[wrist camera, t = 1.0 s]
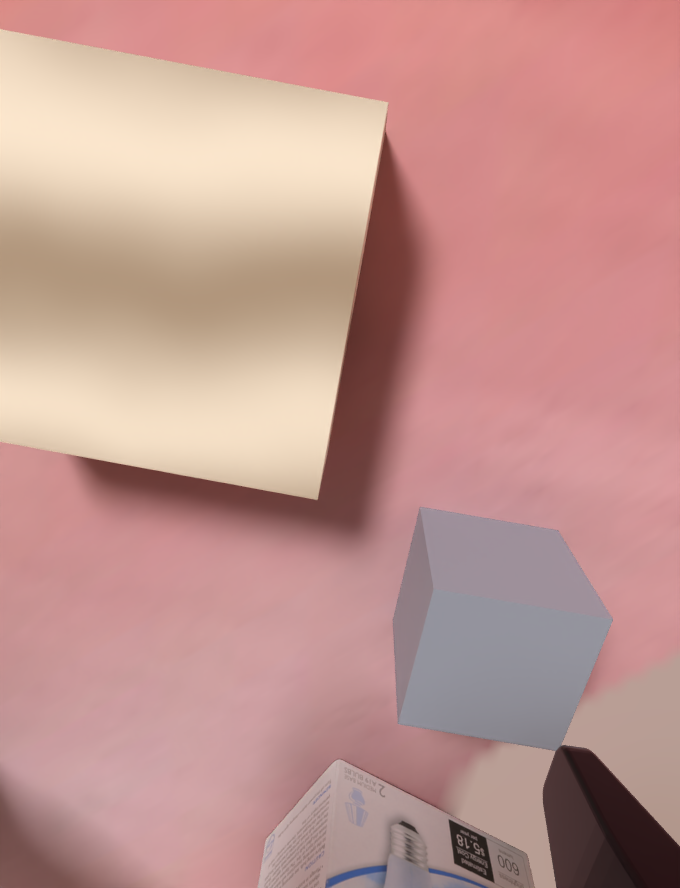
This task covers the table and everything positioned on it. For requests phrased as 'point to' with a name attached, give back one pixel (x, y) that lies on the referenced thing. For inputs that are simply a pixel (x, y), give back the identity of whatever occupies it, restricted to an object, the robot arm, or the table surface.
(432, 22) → the table surface
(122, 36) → the table surface
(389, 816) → the light bulb box
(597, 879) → the robot arm
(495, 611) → the slate cube
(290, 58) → the table surface
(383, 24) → the table surface
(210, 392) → the flat wooden block
